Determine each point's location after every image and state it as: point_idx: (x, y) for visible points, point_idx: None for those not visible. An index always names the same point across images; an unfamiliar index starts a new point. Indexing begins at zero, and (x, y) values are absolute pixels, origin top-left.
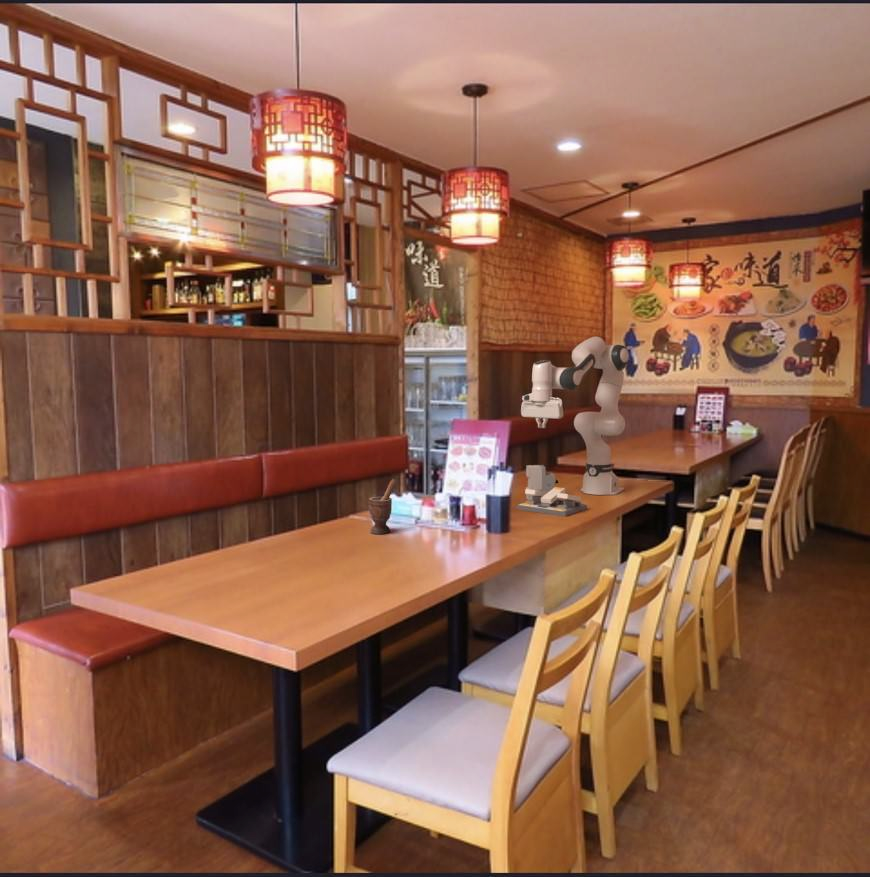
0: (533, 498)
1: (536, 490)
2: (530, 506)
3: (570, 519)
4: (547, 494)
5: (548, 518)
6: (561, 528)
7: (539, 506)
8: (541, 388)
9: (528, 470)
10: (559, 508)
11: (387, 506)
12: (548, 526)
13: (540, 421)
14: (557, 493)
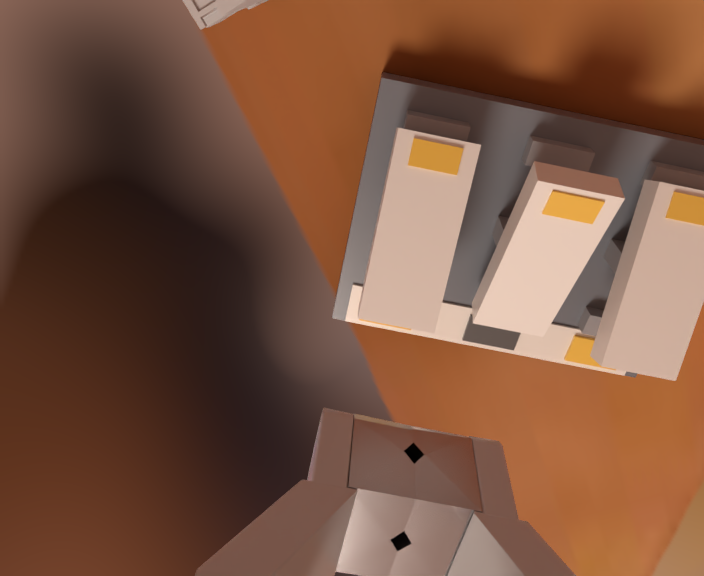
0: None
1: (437, 318)
2: (420, 335)
3: (661, 403)
4: (506, 284)
5: (553, 420)
6: (643, 538)
7: (476, 343)
8: None
9: (205, 15)
10: None
11: None
12: (585, 529)
13: (313, 538)
14: (600, 364)
